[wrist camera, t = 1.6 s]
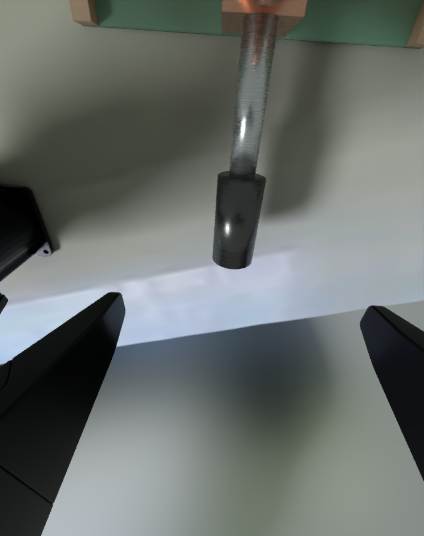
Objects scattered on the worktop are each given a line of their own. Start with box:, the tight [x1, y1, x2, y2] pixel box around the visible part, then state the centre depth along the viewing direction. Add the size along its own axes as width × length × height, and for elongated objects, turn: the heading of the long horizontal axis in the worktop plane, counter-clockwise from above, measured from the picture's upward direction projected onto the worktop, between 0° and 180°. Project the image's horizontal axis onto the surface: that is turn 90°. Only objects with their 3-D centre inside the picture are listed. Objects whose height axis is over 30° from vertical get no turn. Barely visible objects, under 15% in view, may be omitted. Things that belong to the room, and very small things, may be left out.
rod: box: [213, 0, 307, 269], centre depth 14 cm, size 15×4×6 cm, turn 177°
